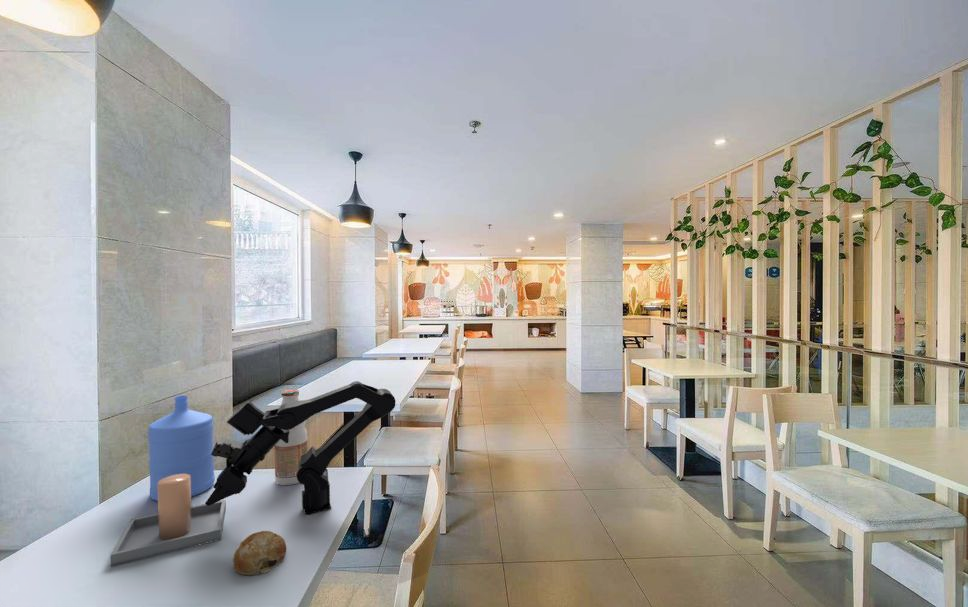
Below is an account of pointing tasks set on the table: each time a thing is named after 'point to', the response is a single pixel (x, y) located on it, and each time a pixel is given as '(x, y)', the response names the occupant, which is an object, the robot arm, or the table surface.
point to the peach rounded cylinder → (174, 506)
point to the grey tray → (146, 542)
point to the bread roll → (259, 553)
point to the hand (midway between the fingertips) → (210, 496)
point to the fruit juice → (290, 447)
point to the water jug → (182, 448)
